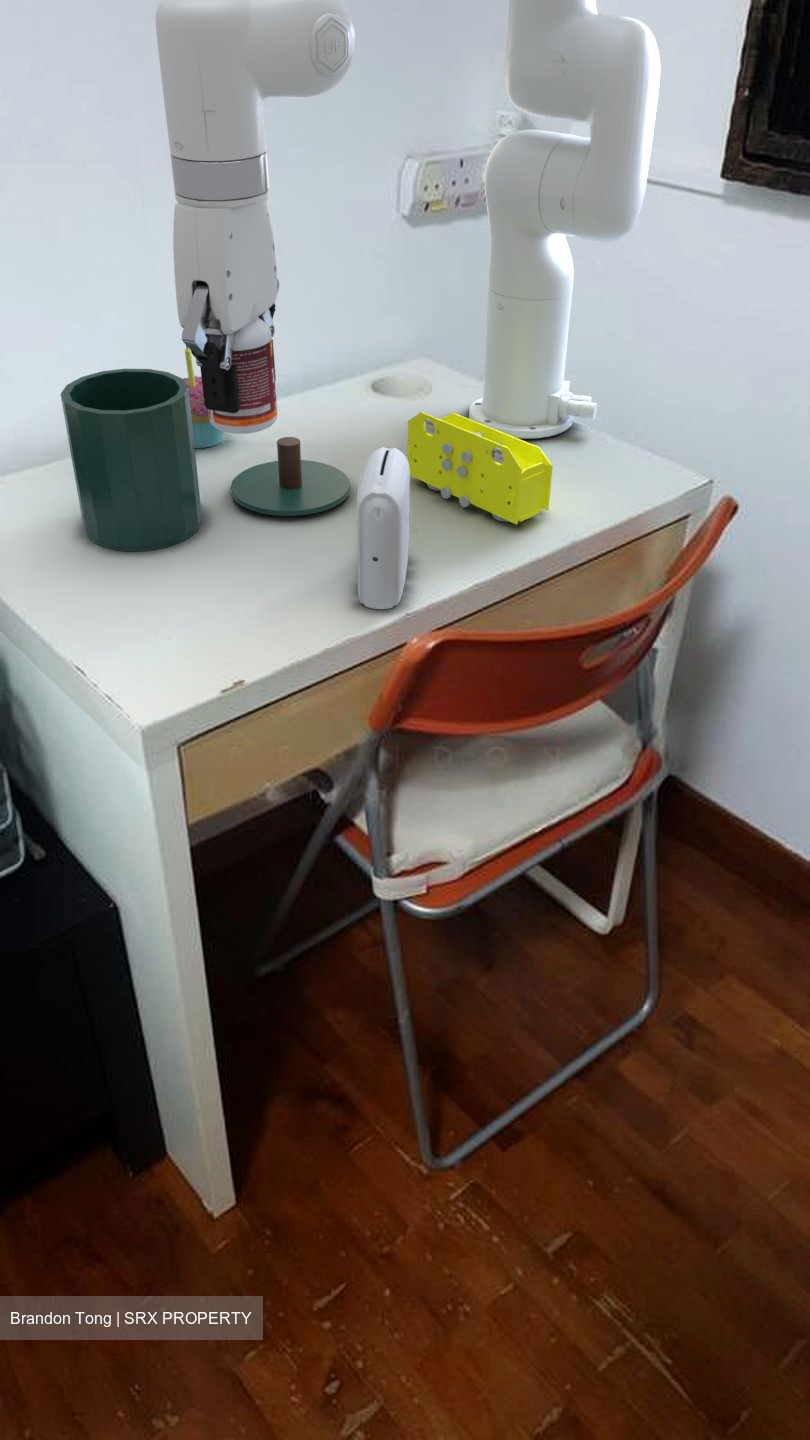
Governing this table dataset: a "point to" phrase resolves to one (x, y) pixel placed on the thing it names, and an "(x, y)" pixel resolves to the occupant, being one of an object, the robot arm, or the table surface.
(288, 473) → the tin lid
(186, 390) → the tin
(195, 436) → the cupcake
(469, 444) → the yellow toy chassis
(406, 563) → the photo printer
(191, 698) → the table surface
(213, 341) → the pill bottle
